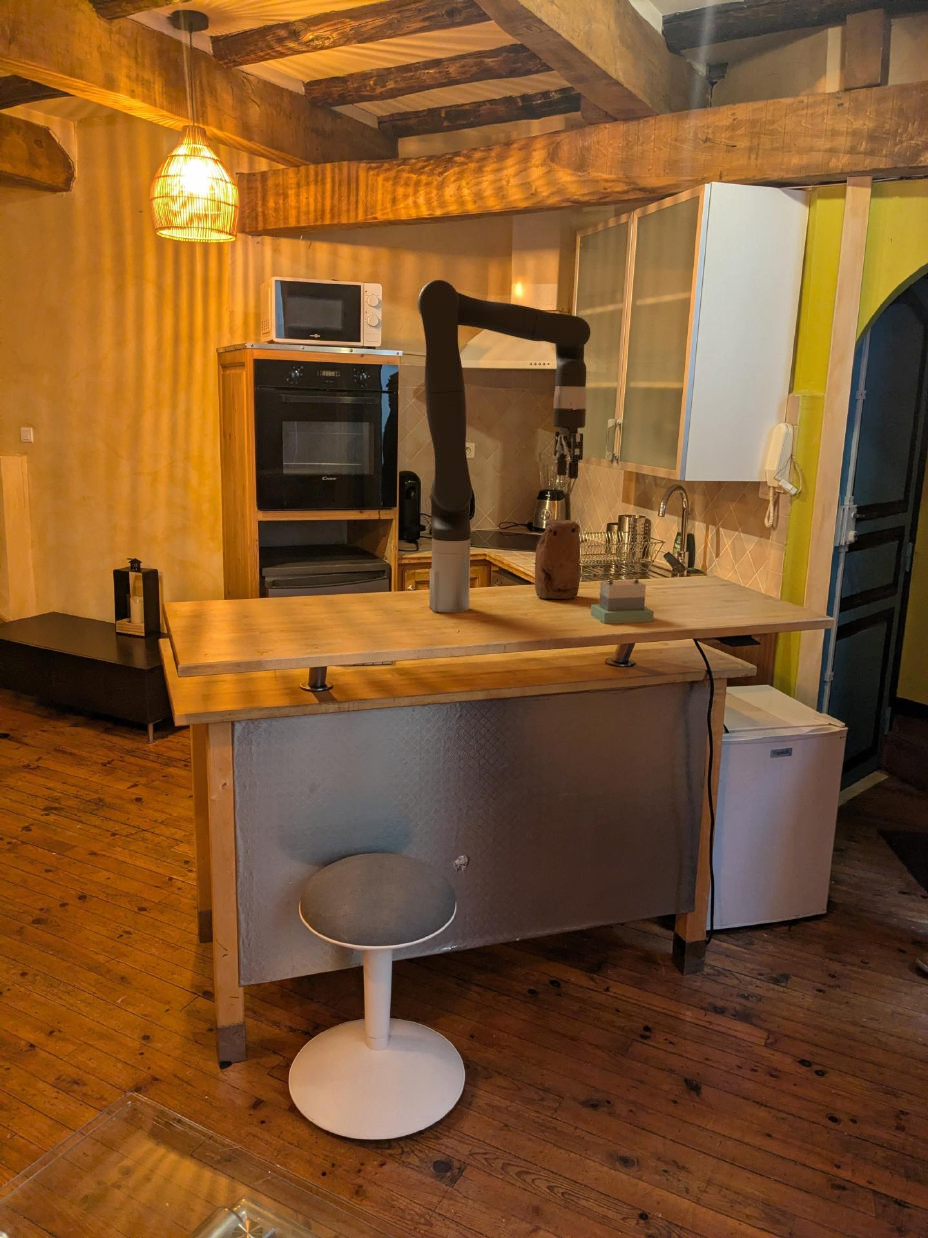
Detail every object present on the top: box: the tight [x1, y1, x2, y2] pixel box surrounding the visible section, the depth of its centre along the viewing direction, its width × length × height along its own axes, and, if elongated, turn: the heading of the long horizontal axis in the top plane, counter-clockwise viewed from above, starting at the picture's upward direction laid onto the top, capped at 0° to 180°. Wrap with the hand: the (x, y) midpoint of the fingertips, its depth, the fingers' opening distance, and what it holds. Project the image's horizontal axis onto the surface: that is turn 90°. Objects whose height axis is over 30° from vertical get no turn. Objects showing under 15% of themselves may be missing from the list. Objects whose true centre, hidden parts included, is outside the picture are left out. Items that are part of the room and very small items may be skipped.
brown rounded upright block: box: [534, 519, 581, 600], centre depth 244 cm, size 11×8×20 cm
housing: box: [598, 578, 647, 611], centre depth 222 cm, size 9×6×7 cm, turn 103°
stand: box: [590, 604, 655, 624], centre depth 223 cm, size 12×9×2 cm
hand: (567, 476), depth 225 cm, fingers open, 8 cm apart
